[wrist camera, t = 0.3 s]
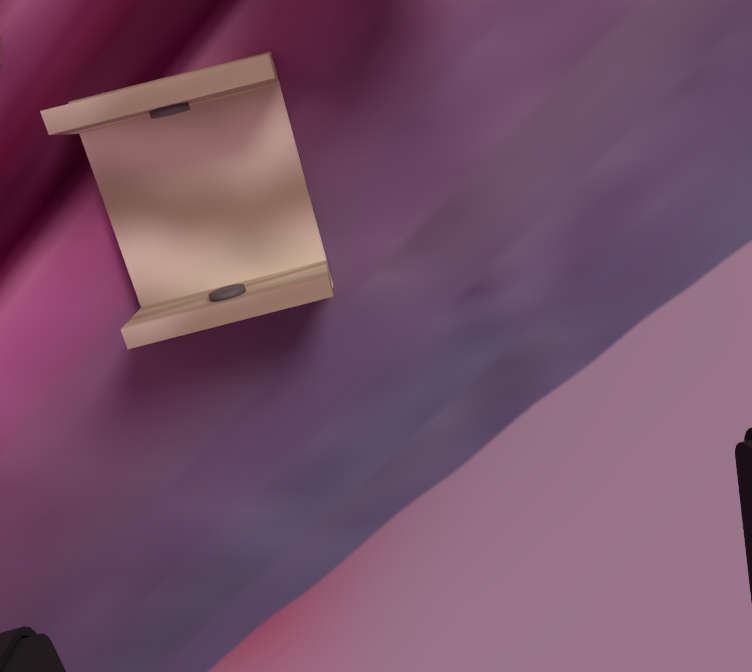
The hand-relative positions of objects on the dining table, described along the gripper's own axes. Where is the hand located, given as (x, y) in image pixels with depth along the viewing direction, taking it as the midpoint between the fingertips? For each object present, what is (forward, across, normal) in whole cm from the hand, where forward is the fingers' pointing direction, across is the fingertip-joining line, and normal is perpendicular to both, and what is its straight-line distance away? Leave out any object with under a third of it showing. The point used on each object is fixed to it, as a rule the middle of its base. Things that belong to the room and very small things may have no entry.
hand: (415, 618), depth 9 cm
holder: (+30, +6, -4) cm, 31 cm away
